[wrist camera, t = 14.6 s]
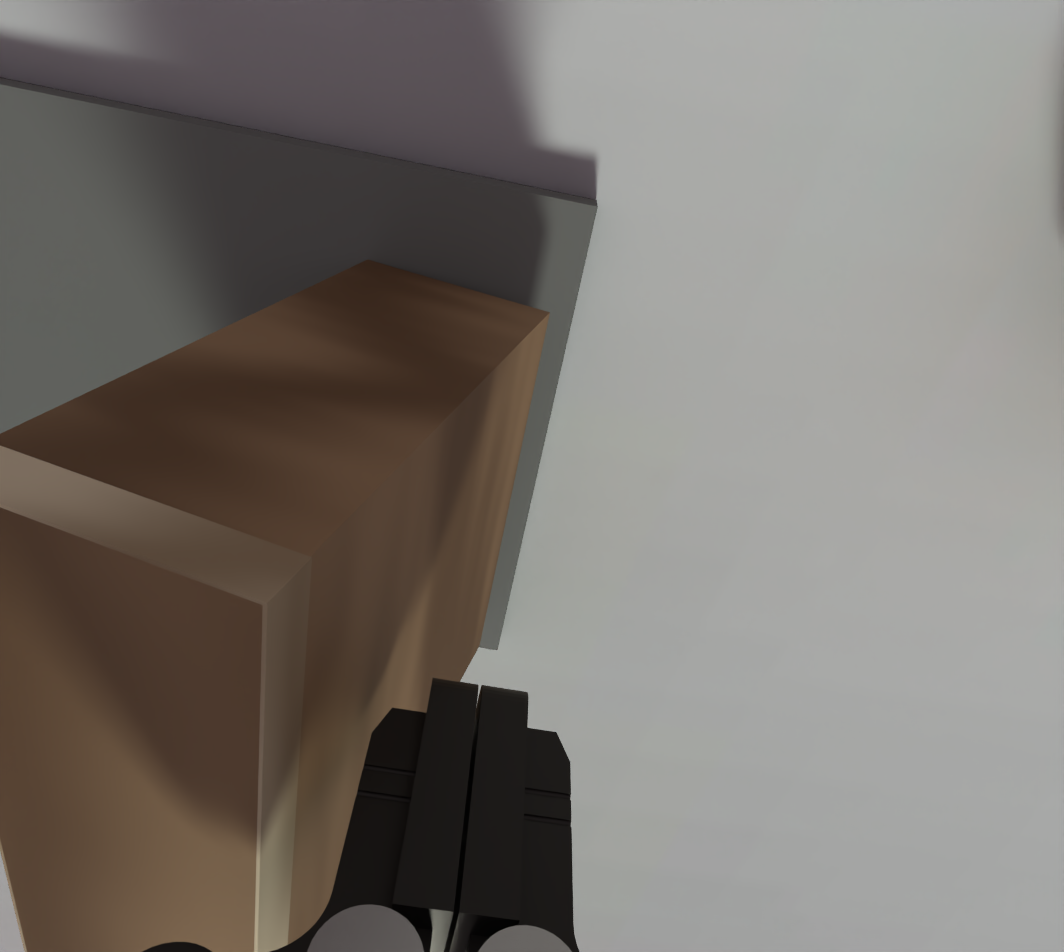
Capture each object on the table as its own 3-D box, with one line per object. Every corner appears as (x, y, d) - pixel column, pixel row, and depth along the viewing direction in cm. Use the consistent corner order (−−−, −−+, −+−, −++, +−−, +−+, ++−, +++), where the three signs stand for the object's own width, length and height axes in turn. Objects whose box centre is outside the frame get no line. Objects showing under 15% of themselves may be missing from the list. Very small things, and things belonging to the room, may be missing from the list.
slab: (553, 310, 16) (267, 603, 8) (481, 647, 21) (254, 1063, 12) (365, 256, 17) (-92, 469, 8) (336, 594, 21) (25, 955, 13)
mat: (596, 200, 16) (597, 206, 16) (498, 634, 23) (497, 650, 22) (-61, 64, 16) (-82, 67, 15) (22, 556, 22) (9, 570, 21)
